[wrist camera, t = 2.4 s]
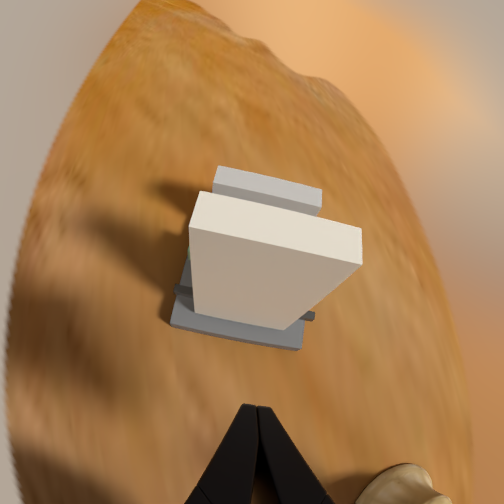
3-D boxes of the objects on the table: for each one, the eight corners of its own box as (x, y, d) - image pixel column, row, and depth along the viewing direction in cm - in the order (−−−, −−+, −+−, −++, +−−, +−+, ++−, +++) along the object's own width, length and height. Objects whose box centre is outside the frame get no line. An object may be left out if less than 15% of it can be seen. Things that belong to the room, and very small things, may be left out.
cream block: (303, 333, 20) (394, 272, 10) (174, 308, 19) (148, 218, 10) (305, 312, 21) (392, 237, 11) (179, 287, 20) (162, 183, 10)
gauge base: (296, 350, 21) (330, 334, 15) (171, 326, 20) (159, 301, 15) (307, 237, 25) (335, 193, 20) (201, 213, 24) (203, 162, 19)
